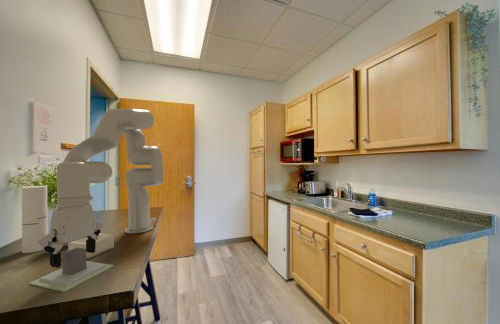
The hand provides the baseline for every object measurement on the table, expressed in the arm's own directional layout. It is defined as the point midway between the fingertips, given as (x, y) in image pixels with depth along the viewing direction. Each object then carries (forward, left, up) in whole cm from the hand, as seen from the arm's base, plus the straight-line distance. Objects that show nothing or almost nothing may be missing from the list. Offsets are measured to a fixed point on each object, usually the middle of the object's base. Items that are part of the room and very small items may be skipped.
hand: (74, 258), depth 63 cm
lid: (0, 0, -4) cm, 4 cm away
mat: (0, 0, -5) cm, 5 cm away
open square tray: (-14, -12, -5) cm, 19 cm away
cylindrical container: (-10, -37, -5) cm, 39 cm away
